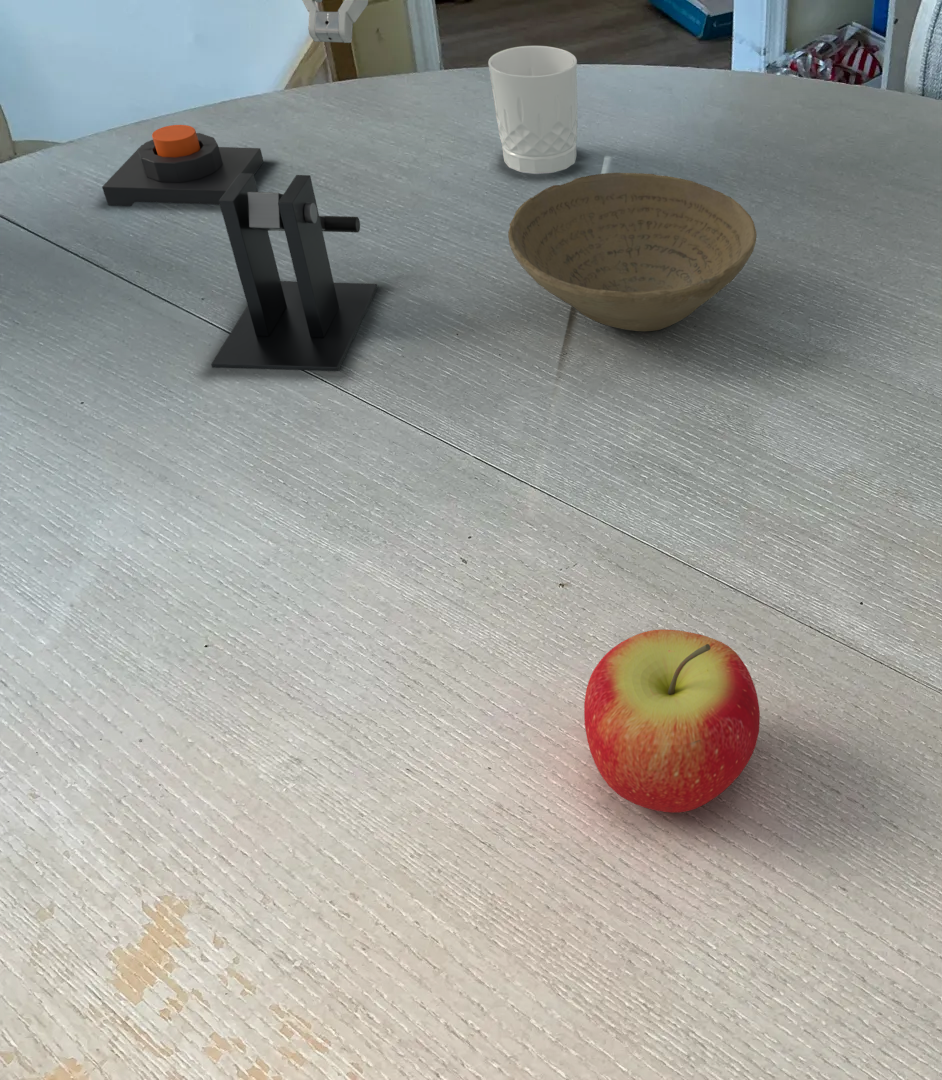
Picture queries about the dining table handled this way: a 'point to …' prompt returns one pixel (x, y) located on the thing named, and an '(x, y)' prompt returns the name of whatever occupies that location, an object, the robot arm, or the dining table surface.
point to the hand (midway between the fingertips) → (330, 39)
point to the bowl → (632, 246)
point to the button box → (180, 174)
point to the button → (175, 141)
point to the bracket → (288, 289)
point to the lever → (269, 218)
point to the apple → (671, 719)
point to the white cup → (536, 107)
